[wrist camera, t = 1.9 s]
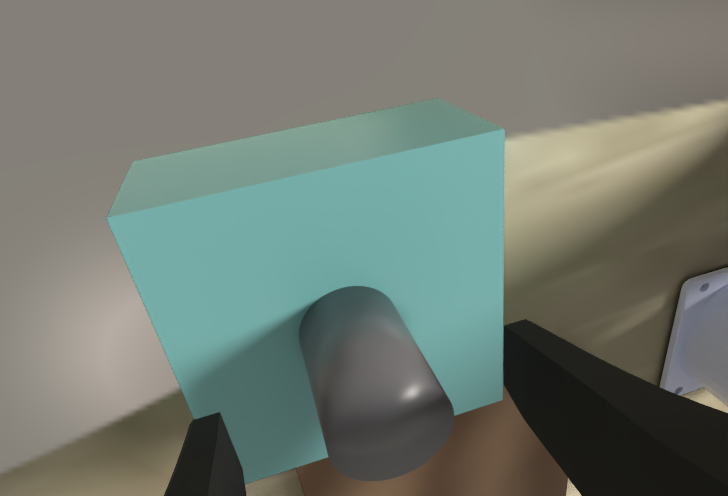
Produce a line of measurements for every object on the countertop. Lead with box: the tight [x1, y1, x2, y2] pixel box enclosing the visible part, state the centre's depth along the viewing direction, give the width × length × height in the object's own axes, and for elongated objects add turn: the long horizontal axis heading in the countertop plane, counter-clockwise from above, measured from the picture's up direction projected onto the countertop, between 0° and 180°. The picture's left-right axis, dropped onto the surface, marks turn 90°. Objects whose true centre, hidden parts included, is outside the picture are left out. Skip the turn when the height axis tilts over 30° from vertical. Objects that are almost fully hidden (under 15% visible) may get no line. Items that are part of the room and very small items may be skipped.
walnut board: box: [296, 364, 568, 496], centre depth 25 cm, size 14×12×1 cm
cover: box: [106, 98, 505, 484], centre depth 15 cm, size 10×10×8 cm
